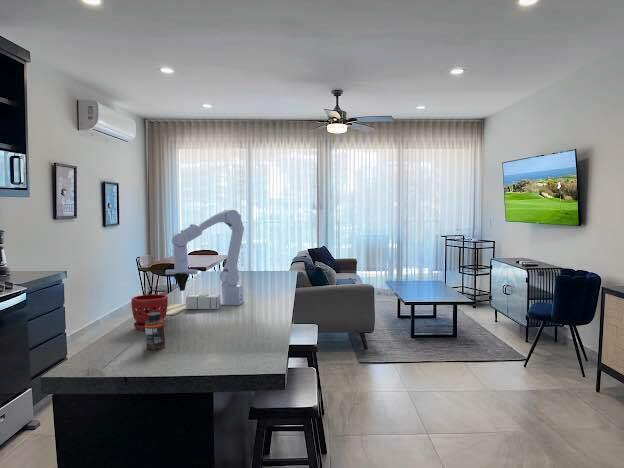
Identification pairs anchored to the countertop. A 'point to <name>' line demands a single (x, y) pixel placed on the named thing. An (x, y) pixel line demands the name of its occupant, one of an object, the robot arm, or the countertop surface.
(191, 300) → the syrup box
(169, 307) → the wooden board
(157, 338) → the supplement bottle
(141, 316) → the plant pot
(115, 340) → the countertop surface
